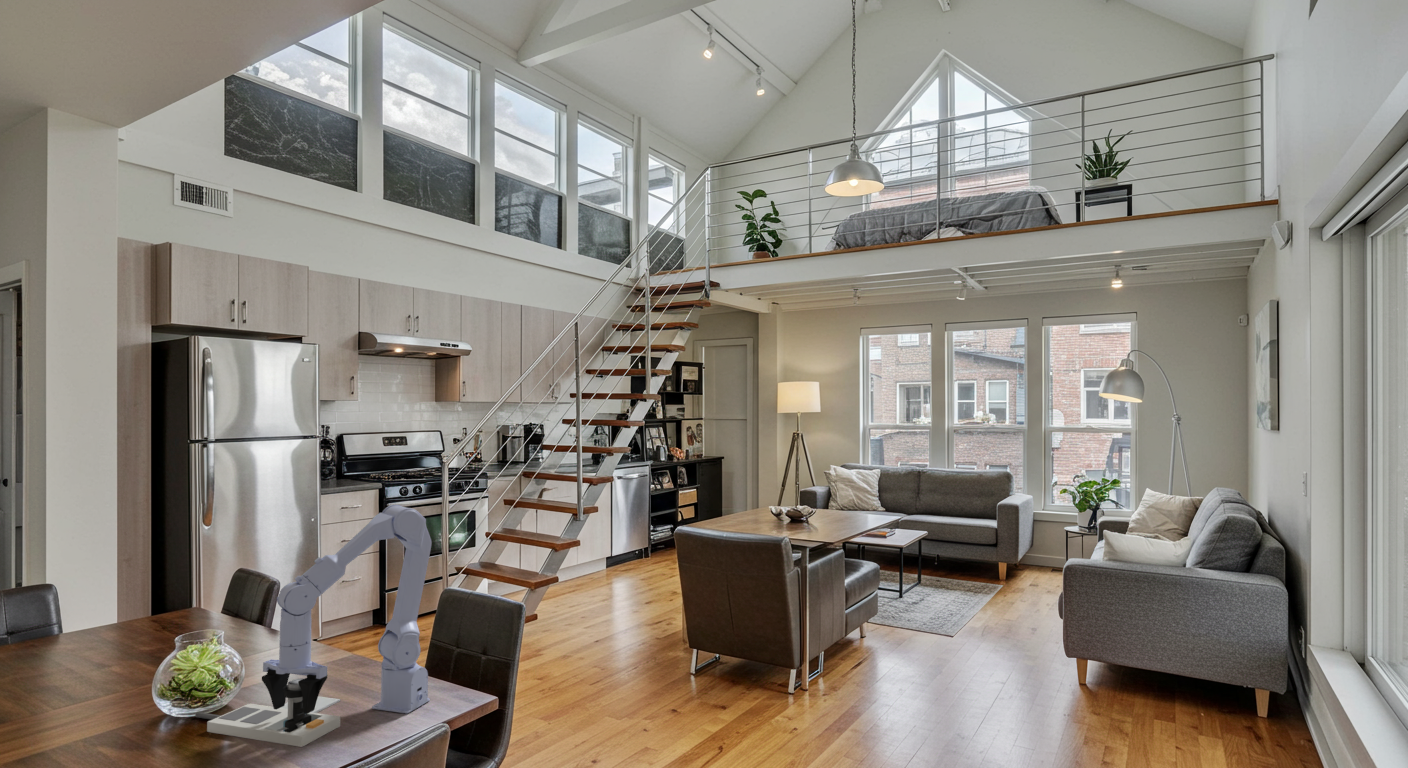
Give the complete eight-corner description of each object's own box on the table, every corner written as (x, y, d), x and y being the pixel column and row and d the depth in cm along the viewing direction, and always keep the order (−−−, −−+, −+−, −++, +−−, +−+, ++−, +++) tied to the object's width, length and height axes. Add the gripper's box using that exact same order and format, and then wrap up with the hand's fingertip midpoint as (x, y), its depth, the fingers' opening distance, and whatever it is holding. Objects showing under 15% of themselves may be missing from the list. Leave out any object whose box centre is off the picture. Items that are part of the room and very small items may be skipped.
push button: (284, 741, 149) (285, 690, 149) (269, 735, 151) (271, 685, 152) (316, 729, 154) (317, 680, 155) (302, 723, 157) (303, 675, 157)
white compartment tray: (340, 726, 156) (340, 713, 156) (301, 746, 146) (302, 733, 146) (217, 707, 165) (217, 696, 165) (173, 726, 155) (174, 713, 155)
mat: (340, 701, 169) (340, 699, 169) (305, 718, 159) (305, 716, 159) (304, 696, 172) (304, 694, 172) (267, 713, 162) (267, 711, 162)
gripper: (250, 645, 152) (249, 713, 151) (308, 651, 148) (307, 721, 147) (279, 635, 158) (278, 700, 158) (335, 641, 154) (334, 708, 154)
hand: (294, 709), depth 153 cm, fingers open, 7 cm apart
